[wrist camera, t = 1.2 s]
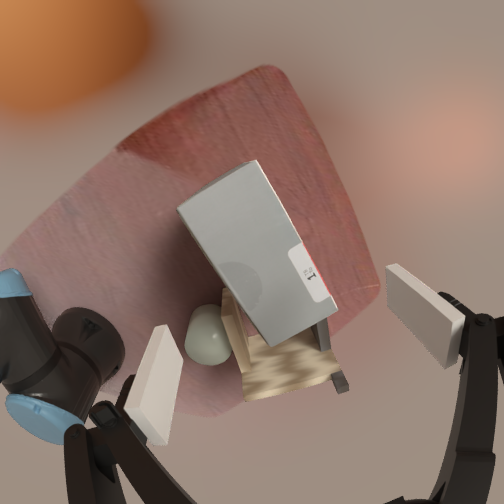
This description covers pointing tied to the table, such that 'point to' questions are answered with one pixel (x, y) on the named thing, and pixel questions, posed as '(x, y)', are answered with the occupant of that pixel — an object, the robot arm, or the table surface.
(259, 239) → the hard drive box
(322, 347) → the shelf bay
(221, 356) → the pale green rounded part
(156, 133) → the table surface
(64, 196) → the table surface
